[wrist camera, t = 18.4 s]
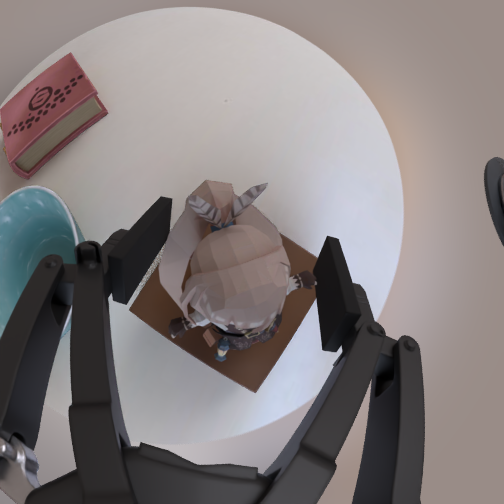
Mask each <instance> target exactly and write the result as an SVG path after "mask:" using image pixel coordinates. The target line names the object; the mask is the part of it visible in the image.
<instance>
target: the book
mask: <svg viewBox="0 0 504 504" xmlns="http://www.w3.org/2000/svg"><path fill="white" fill-rule="evenodd" d="M97 94H98V92H97V90H96V89H95V87H94V86H93V84H92V83H91V81H90V80H89V79H88V77H87V76H86V74H85V73H84V71H83V70H82V68H81V67H80V65H79V64H78V62H77V61H76V59H75V58H74V56H73V55H72V53H71V52H70V53H69V54H67V55H66V56H64V57H63V58H62V59H60V60H59V61H57V62H56V63H54V64H53V65H52V66H50V67H49V68H48V69H46V70H45V71H44V72H42V73H41V74H40V75H39V76H37V77H36V78H35V79H34V80H32V81H31V82H30V83H29V84H27V85H26V86H25V87H24V88H23V89H22V90H20V91H19V92H18V93H17V94H16V95H15V96H14V97H13V98H12V99H10V100H9V101H8V102H7V103H6V104H5V105H4V106H3V107H2V108H1V109H0V115H1V123H0V127H1V129H2V131H3V136H4V142H5V147H4V148H3V150H4V152H5V154H6V155H7V157H8V162H9V165H10V166H11V168H12V170H13V171H14V172H15V173H16V174H18V175H19V176H20V177H23V178H27V179H29V178H30V177H31V176H32V175H33V174H34V173H35V172H36V171H37V170H38V169H40V168H41V167H42V166H43V165H44V164H45V163H46V162H47V161H48V160H49V159H50V158H52V157H53V156H54V155H55V154H56V153H57V152H58V151H60V150H61V149H62V148H63V147H64V146H66V145H67V144H68V143H69V142H70V141H72V140H73V139H74V138H75V137H77V136H78V135H79V134H81V133H82V132H83V131H84V130H86V129H87V128H88V127H90V126H91V125H92V124H94V123H95V122H97V121H98V120H99V119H101V118H102V117H104V116H105V115H107V114H108V112H107V110H106V108H105V107H104V105H103V104H102V102H101V101H100V100H99V98H98V97H97Z"/></svg>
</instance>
